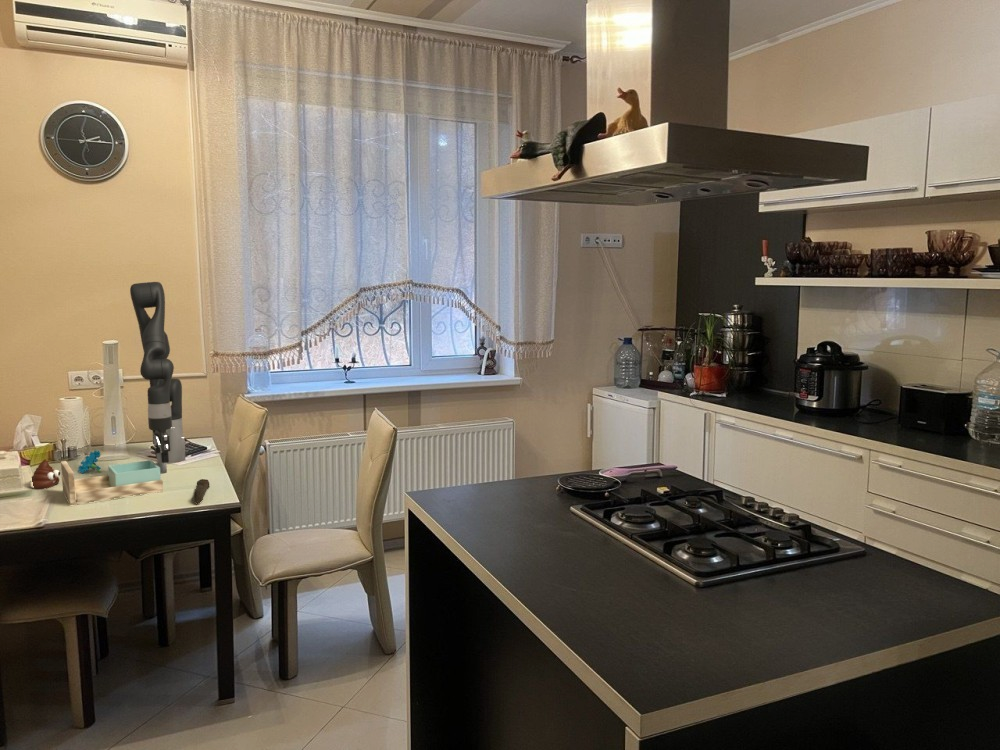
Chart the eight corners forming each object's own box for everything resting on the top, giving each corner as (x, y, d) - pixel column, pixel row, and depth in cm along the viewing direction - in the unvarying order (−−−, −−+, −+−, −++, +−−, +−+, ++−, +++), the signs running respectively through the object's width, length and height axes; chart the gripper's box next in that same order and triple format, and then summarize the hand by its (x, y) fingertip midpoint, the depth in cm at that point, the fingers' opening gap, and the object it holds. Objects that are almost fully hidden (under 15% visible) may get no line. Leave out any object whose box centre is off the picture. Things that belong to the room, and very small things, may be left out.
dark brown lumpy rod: (197, 489, 262) (197, 477, 261) (209, 489, 263) (209, 476, 262) (188, 506, 244) (187, 493, 243) (201, 506, 244) (200, 492, 244)
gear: (74, 465, 284) (94, 445, 287) (87, 474, 288) (107, 454, 290) (79, 476, 276) (100, 455, 278) (92, 484, 279) (113, 464, 282)
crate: (162, 476, 272) (161, 449, 271) (171, 485, 262) (170, 456, 260) (109, 484, 262) (107, 455, 260) (116, 493, 251) (114, 463, 250)
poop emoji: (42, 481, 269) (40, 456, 267) (65, 482, 269) (64, 456, 267) (24, 489, 259) (22, 463, 258) (49, 490, 259) (47, 463, 258)
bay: (151, 479, 272) (149, 450, 271) (163, 491, 258) (161, 460, 256) (63, 492, 256) (60, 461, 254) (70, 506, 241) (68, 473, 240)
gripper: (176, 417, 259) (178, 462, 262) (166, 410, 271) (168, 454, 273) (153, 420, 255) (155, 466, 257) (143, 413, 266) (146, 457, 269)
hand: (162, 460), depth 265 cm, fingers open, 8 cm apart
